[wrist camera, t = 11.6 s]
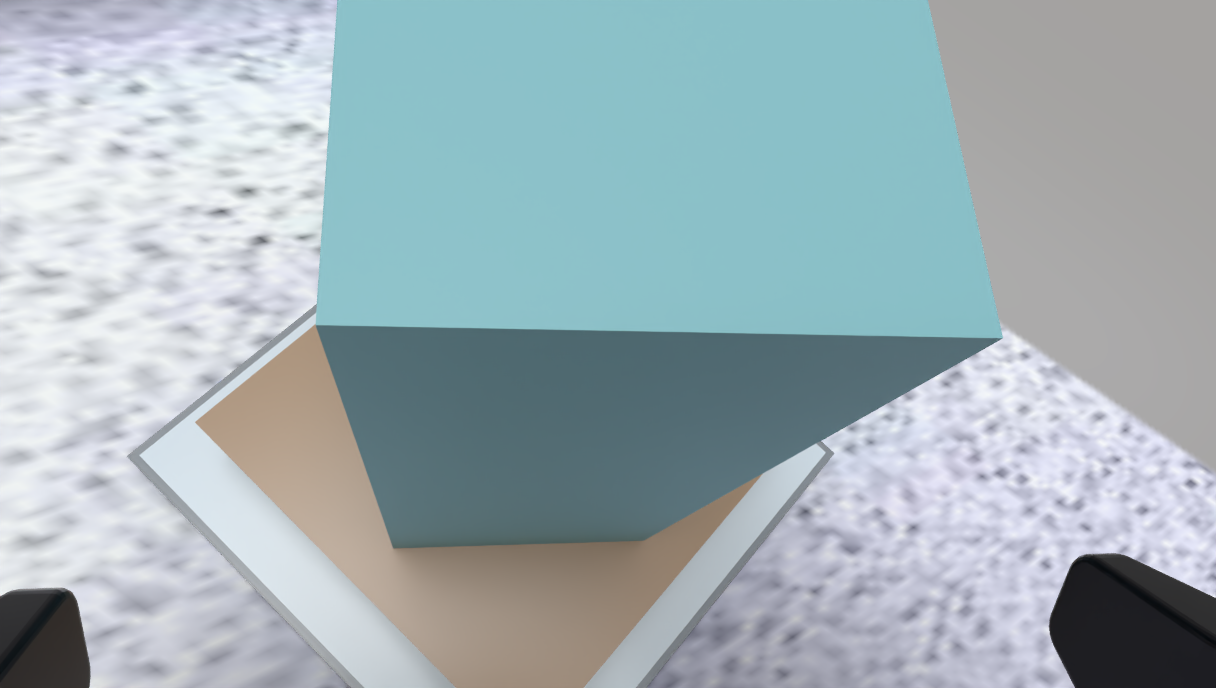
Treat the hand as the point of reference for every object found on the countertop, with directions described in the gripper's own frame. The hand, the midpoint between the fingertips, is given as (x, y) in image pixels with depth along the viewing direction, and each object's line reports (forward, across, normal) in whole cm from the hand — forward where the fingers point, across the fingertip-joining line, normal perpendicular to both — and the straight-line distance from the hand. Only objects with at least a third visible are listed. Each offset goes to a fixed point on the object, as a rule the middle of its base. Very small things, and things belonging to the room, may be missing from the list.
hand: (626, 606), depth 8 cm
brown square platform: (+13, 0, +7) cm, 14 cm away
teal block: (+10, 0, +4) cm, 11 cm away
